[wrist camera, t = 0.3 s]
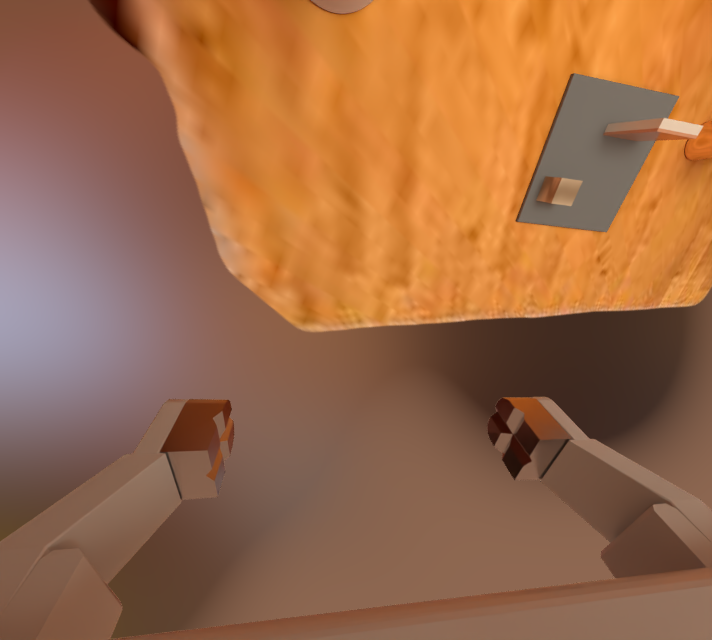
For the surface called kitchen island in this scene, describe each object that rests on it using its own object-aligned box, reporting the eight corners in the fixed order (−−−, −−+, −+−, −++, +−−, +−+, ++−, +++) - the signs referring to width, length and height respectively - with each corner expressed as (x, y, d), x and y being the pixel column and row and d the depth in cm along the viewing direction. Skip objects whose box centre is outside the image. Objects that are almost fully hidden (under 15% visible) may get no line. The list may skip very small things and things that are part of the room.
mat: (571, 74, 45) (574, 73, 44) (675, 96, 48) (679, 96, 47) (515, 220, 55) (517, 221, 55) (604, 231, 58) (606, 232, 58)
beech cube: (545, 176, 51) (562, 177, 48) (565, 179, 52) (582, 180, 48) (536, 200, 53) (551, 203, 50) (555, 202, 54) (571, 206, 50)
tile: (608, 123, 48) (664, 117, 40) (642, 130, 49) (703, 125, 42) (603, 135, 49) (656, 131, 41) (637, 141, 50) (695, 138, 42)
